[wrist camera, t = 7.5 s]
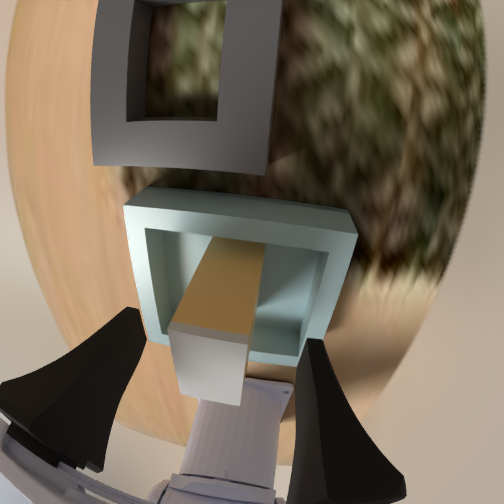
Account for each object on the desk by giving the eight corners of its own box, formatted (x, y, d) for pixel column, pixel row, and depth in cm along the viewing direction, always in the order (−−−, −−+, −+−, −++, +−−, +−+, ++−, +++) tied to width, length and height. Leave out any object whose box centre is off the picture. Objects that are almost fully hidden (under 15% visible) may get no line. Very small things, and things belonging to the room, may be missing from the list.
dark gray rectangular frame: (268, 164, 12) (264, 175, 11) (113, 156, 13) (93, 165, 11) (287, -32, 7) (286, -48, 6) (122, -16, 8) (103, -24, 6)
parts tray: (310, 337, 18) (311, 368, 16) (162, 314, 18) (149, 340, 16) (347, 209, 13) (358, 234, 11) (147, 186, 14) (123, 205, 11)
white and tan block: (257, 307, 16) (239, 406, 11) (212, 301, 16) (181, 394, 11) (266, 241, 14) (247, 344, 8) (213, 234, 14) (167, 329, 9)
